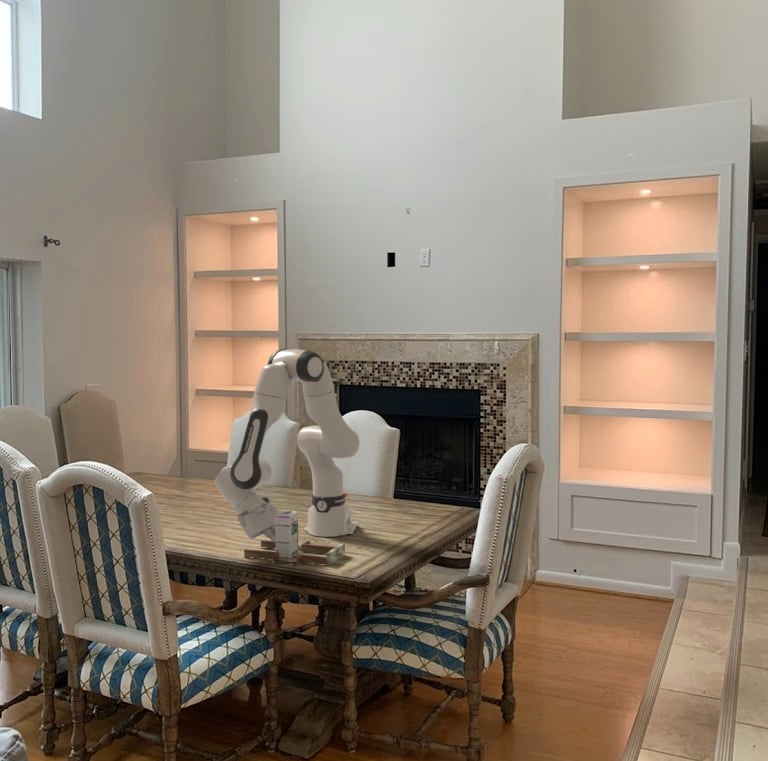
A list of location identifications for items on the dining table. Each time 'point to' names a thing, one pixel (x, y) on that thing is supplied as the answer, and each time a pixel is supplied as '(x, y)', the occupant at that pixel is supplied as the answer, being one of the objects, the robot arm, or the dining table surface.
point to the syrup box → (286, 533)
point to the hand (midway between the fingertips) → (277, 540)
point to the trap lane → (331, 551)
